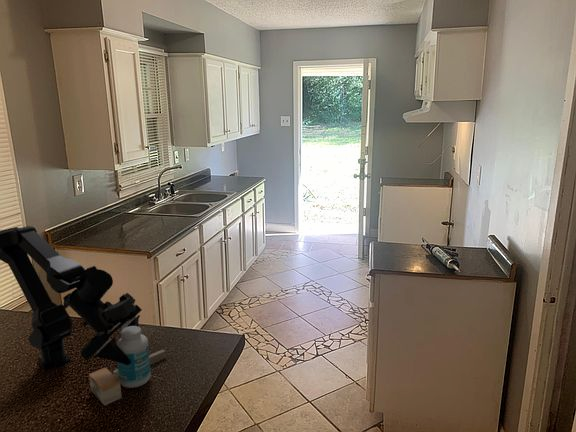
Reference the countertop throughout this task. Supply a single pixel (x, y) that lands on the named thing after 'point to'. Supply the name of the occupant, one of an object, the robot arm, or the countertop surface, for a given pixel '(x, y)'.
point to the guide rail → (153, 359)
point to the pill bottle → (134, 358)
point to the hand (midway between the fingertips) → (138, 354)
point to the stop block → (105, 386)
